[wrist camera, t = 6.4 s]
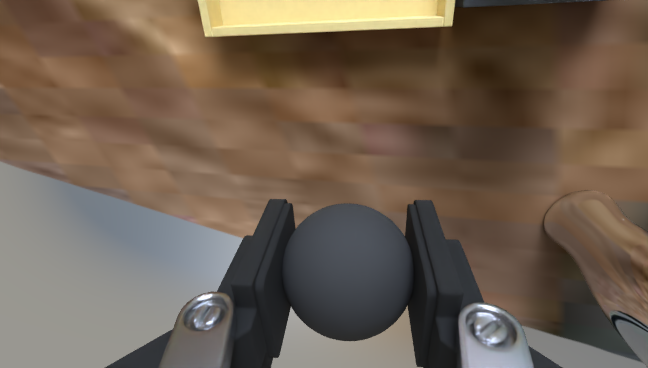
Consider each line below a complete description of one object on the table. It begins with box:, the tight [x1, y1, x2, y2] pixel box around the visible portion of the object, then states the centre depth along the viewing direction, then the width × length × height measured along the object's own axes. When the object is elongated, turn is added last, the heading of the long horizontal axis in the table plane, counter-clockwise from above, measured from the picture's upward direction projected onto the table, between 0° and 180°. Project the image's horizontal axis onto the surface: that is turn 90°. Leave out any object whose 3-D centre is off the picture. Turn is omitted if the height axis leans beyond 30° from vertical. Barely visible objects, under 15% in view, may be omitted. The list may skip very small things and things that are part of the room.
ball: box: [282, 204, 414, 341], centre depth 10 cm, size 4×4×4 cm
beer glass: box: [544, 190, 648, 367], centre depth 25 cm, size 7×7×15 cm
